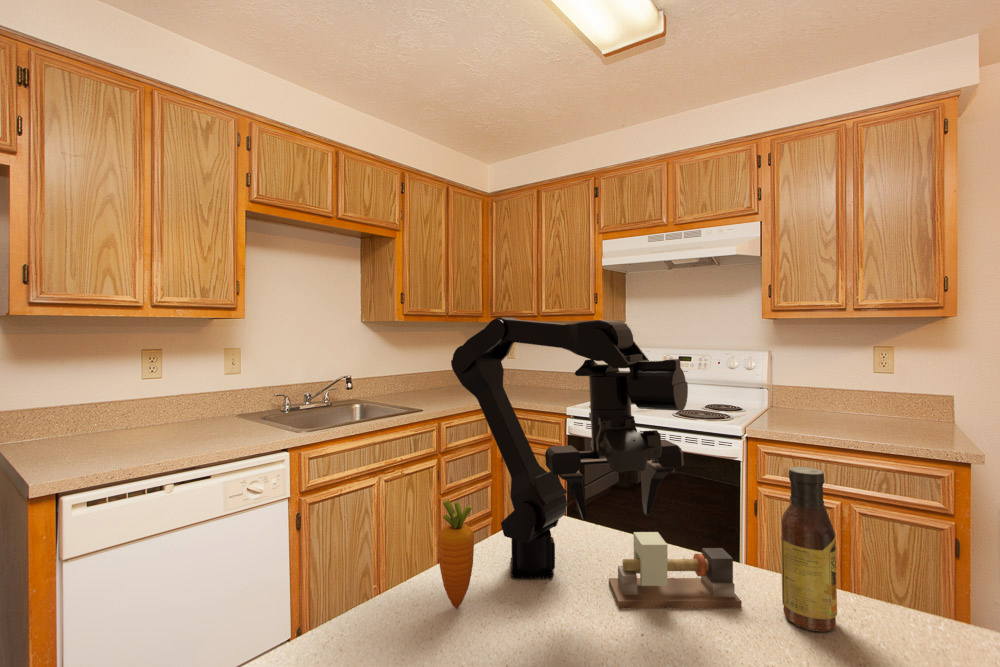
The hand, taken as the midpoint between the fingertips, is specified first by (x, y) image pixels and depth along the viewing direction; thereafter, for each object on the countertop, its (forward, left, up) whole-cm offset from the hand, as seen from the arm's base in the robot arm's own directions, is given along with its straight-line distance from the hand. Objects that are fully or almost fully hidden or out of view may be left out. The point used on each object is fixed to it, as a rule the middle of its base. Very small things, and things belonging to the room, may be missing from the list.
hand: (615, 516), depth 72 cm
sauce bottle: (+24, -5, -12) cm, 28 cm away
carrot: (-23, -2, -12) cm, 26 cm away
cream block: (+5, +1, -9) cm, 11 cm away
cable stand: (+8, +1, -12) cm, 15 cm away
